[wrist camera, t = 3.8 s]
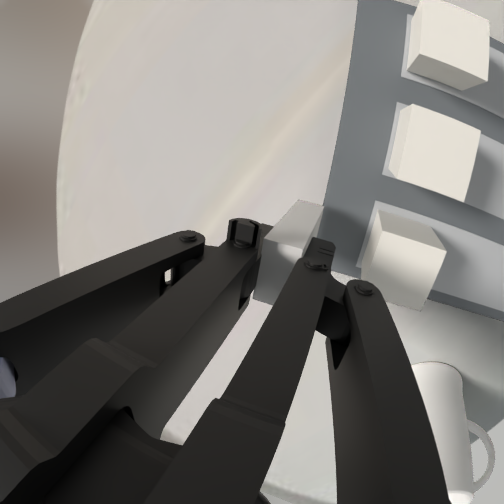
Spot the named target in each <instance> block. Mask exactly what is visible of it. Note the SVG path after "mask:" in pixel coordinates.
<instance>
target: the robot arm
mask: <svg viewBox="0 0 504 504" xmlns="http://www.w3.org/2000/svg"><path fill="white" fill-rule="evenodd" d="M323 209H324V206H321V205H318V204H314V203H310V202H306V201H303V200H298V201H297V202H296V203H295V204H294V205H293V206H292V207H291V209H290V210H289V211H288V212H287V213H286V214H285V215H284V216H283V217H282V219H281V220H280V221H279V222H278V223H277V224H276V225H275V226H270V225H266V224H263V223H262V224H260V223H258V222H256V221H253V220H250V219H245V218H235V219H231V220H229V225H228V233H227V240H226V241H225V242H224V243H222V244H221V245H220V246H219V247H215V246H208V245H205V237H204V236H203V235H202V234H200V233H197V232H195V231H191V230H187V231H180V232H176V233H173V234H171V235H168V236H165V237H162V238H159V239H157V240H154V241H151V242H149V243H146V244H143V245H140V246H138V247H135V248H132V249H130V250H127V251H125V252H122V253H119V254H117V255H114V256H112V257H109V258H106V259H104V260H101V261H99V262H96V263H94V264H91V265H89V266H86V267H84V268H81V269H79V270H76V271H74V272H71V273H69V274H66V275H64V276H62V277H59V278H57V279H55V280H52V281H50V282H47V283H45V284H43V285H40V286H38V287H35V288H33V289H31V290H29V291H26V292H24V293H22V294H19V295H17V296H15V297H13V298H10V299H8V300H6V301H4V302H2V303H0V504H271V503H270V502H269V501H268V500H267V498H266V497H265V496H264V495H263V494H262V493H261V492H260V488H261V486H262V484H263V481H264V479H265V477H266V474H267V472H268V469H269V467H270V465H271V462H272V460H273V457H274V454H275V452H276V449H277V447H278V444H279V442H280V439H281V436H282V433H283V431H284V428H285V421H286V418H287V415H288V412H289V410H290V407H291V404H292V401H293V398H294V395H295V392H296V389H297V386H298V383H299V380H300V377H301V374H302V371H303V368H304V365H305V362H306V359H307V355H308V352H309V349H310V346H311V342H312V339H313V336H314V332H315V330H316V331H318V332H320V333H321V334H323V335H325V336H327V338H326V342H325V344H326V352H327V361H328V370H329V380H330V390H331V401H332V413H333V426H334V441H335V458H336V480H337V504H452V503H451V501H450V500H449V496H448V491H447V486H446V482H445V477H444V473H443V468H442V464H441V460H440V456H439V452H438V449H437V445H436V441H435V438H434V434H433V431H432V427H431V424H430V421H429V417H428V414H427V411H426V408H425V405H424V401H423V398H422V395H421V392H420V389H419V387H418V384H417V381H416V378H415V375H414V372H413V370H412V367H411V364H410V361H409V359H408V356H407V354H406V351H405V348H404V346H403V343H402V341H401V338H400V336H399V333H398V331H397V328H396V326H395V323H394V321H393V319H392V316H391V314H390V312H389V309H388V307H387V305H386V302H385V300H384V298H383V296H382V293H381V292H380V290H379V289H378V288H377V287H376V286H374V285H373V284H372V283H369V282H368V281H363V280H357V279H354V280H350V281H349V282H348V283H347V285H344V284H342V283H340V282H338V281H337V280H336V279H334V278H333V276H332V275H331V266H332V262H333V258H334V253H335V249H336V247H335V245H334V244H333V242H330V241H326V240H323V239H319V238H317V234H318V230H319V226H320V222H321V218H322V214H323ZM169 269H171V280H170V281H168V282H165V272H166V271H167V270H169ZM253 290H254V294H253V299H255V300H258V301H261V302H264V303H267V304H270V305H273V307H272V309H271V311H270V312H269V314H268V316H267V318H266V320H265V322H264V323H263V325H262V327H261V329H260V331H259V332H258V334H257V336H256V338H255V340H254V341H253V343H252V345H251V347H250V348H249V350H248V352H247V354H246V356H245V357H244V359H243V361H242V363H241V364H240V366H239V368H238V370H237V371H236V373H235V375H234V376H233V378H232V380H231V382H230V383H229V385H228V387H227V388H226V390H225V392H224V393H223V395H222V396H221V398H220V399H217V398H215V399H214V400H212V401H211V403H210V404H209V406H208V407H207V408H206V410H205V412H204V413H203V415H202V416H201V418H200V419H199V421H198V423H197V424H196V426H195V427H194V429H193V430H192V432H191V433H190V435H189V437H188V438H187V440H186V441H185V443H184V444H183V446H182V445H178V444H174V443H170V442H166V441H162V440H160V437H161V433H162V431H163V428H164V427H165V425H166V424H167V422H168V421H169V419H170V418H171V417H172V415H173V414H174V412H175V411H176V409H177V408H178V407H179V405H180V404H181V402H182V401H183V400H184V398H185V397H186V395H187V394H188V392H189V391H190V390H191V388H192V387H193V385H194V384H195V382H196V381H197V380H198V378H199V377H200V375H201V374H202V372H203V371H204V369H205V368H206V367H207V365H208V364H209V362H210V361H211V359H212V358H213V356H214V355H215V353H216V352H217V351H218V349H219V348H220V346H221V345H222V343H223V342H224V340H225V339H226V337H227V336H228V334H229V333H230V331H231V330H232V328H233V327H234V325H235V324H236V322H237V321H238V319H239V318H240V316H241V315H242V313H243V312H244V311H245V309H246V308H247V306H248V304H249V300H250V294H251V293H252V291H253Z"/></svg>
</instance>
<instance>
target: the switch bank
mask: <svg viewBox="0 0 504 504" xmlns="http://www.w3.org/2000/svg"><path fill="white" fill-rule="evenodd" d="M416 9H417V7H415V6H411V5H408V4H405V3H401V2H397V1H394V0H358V5H357V14H356V23H355V31H354V38H353V46H352V53H351V60H350V67H349V73H348V79H347V86H346V92H345V98H344V103H343V109H342V115H341V120H340V126H339V131H338V136H337V141H336V146H335V151H334V156H333V161H332V166H331V171H330V175H329V180H328V185H327V189H326V194H325V198H324V202H323V206H324V209H323V214H322V218H321V222H320V226H319V230H318V234H317V238H319V239H323V240H326V241H330V242H333V244H334V245H335V247H336V249H335V253H334V258H333V262H332V266H331V271H335V272H338V273H341V274H345V275H348V276H352V277H355V278H358V279H361V266H362V259H363V256H364V253H365V250H366V247H367V244H368V241H369V237H370V234H371V231H372V227H373V224H374V221H375V217H376V214H377V210H382V211H385V212H388V213H391V214H395V215H398V216H401V217H404V218H407V219H410V220H413V221H416V222H419V223H422V224H425V225H428V226H431V228H432V229H433V231H434V232H435V234H436V235H437V237H438V238H439V240H440V241H441V243H442V244H443V246H444V248H445V249H446V251H447V253H446V255H445V258H444V260H443V263H442V265H441V268H440V270H439V272H438V275H437V277H436V279H435V282H434V284H433V286H432V288H431V291H430V293H429V295H428V297H427V299H430V300H433V301H437V302H440V303H443V304H447V305H450V306H453V307H457V308H460V309H464V310H467V311H470V312H474V313H477V314H480V315H484V316H487V317H490V318H494V319H497V320H500V321H504V44H503V43H501V42H499V41H497V40H495V39H493V38H491V37H490V36H489V68H488V81H487V82H485V83H482V84H479V85H476V86H473V87H471V88H468V89H465V90H463V91H461V90H458V89H456V88H454V87H451V86H449V85H446V84H444V83H441V82H438V81H436V80H433V79H430V78H427V77H424V76H421V75H418V74H415V73H412V72H409V71H406V70H407V62H408V54H409V44H410V33H411V20H412V18H413V16H414V13H415V11H416ZM411 104H415V105H418V106H421V107H424V108H427V109H429V110H432V111H435V112H438V113H440V114H443V115H445V116H448V117H451V118H453V119H455V120H458V121H460V122H463V123H465V124H467V125H470V126H472V127H474V128H476V129H479V130H481V133H480V139H479V144H478V149H477V153H476V158H475V162H474V166H473V170H472V174H471V178H470V182H469V186H468V189H467V193H466V197H465V200H464V202H462V201H459V200H456V199H454V198H451V197H448V196H446V195H443V194H440V193H438V192H435V191H432V190H429V189H426V188H423V187H421V186H418V185H415V184H412V183H409V182H406V181H402V180H399V179H397V178H396V177H395V176H394V175H393V174H392V172H391V171H390V170H389V169H388V167H389V163H390V159H391V154H392V150H393V145H394V141H395V136H396V131H397V126H398V120H399V115H400V110H402V109H404V108H406V107H408V106H409V105H411Z"/></svg>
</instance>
